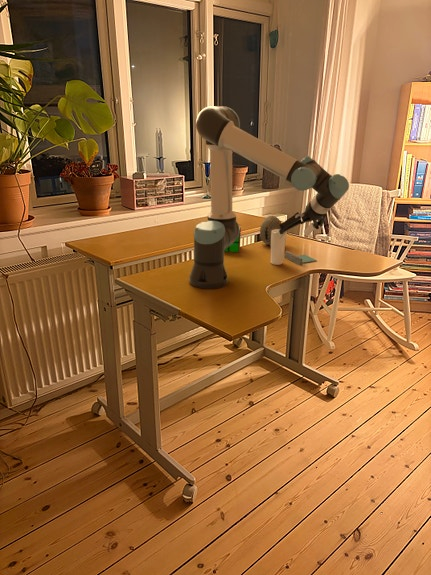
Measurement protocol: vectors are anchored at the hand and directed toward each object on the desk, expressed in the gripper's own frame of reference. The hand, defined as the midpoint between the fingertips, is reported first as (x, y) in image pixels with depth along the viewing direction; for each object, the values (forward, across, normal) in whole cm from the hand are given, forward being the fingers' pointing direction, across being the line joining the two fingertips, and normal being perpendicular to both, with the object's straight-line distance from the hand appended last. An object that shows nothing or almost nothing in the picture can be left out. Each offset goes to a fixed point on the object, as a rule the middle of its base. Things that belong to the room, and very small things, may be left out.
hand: (292, 235), depth 183 cm
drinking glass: (+18, -1, -5) cm, 18 cm away
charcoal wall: (+17, +8, -4) cm, 20 cm away
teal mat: (+18, +14, -4) cm, 23 cm away
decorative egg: (+36, +12, +14) cm, 40 cm away
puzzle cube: (+37, -11, +14) cm, 41 cm away
